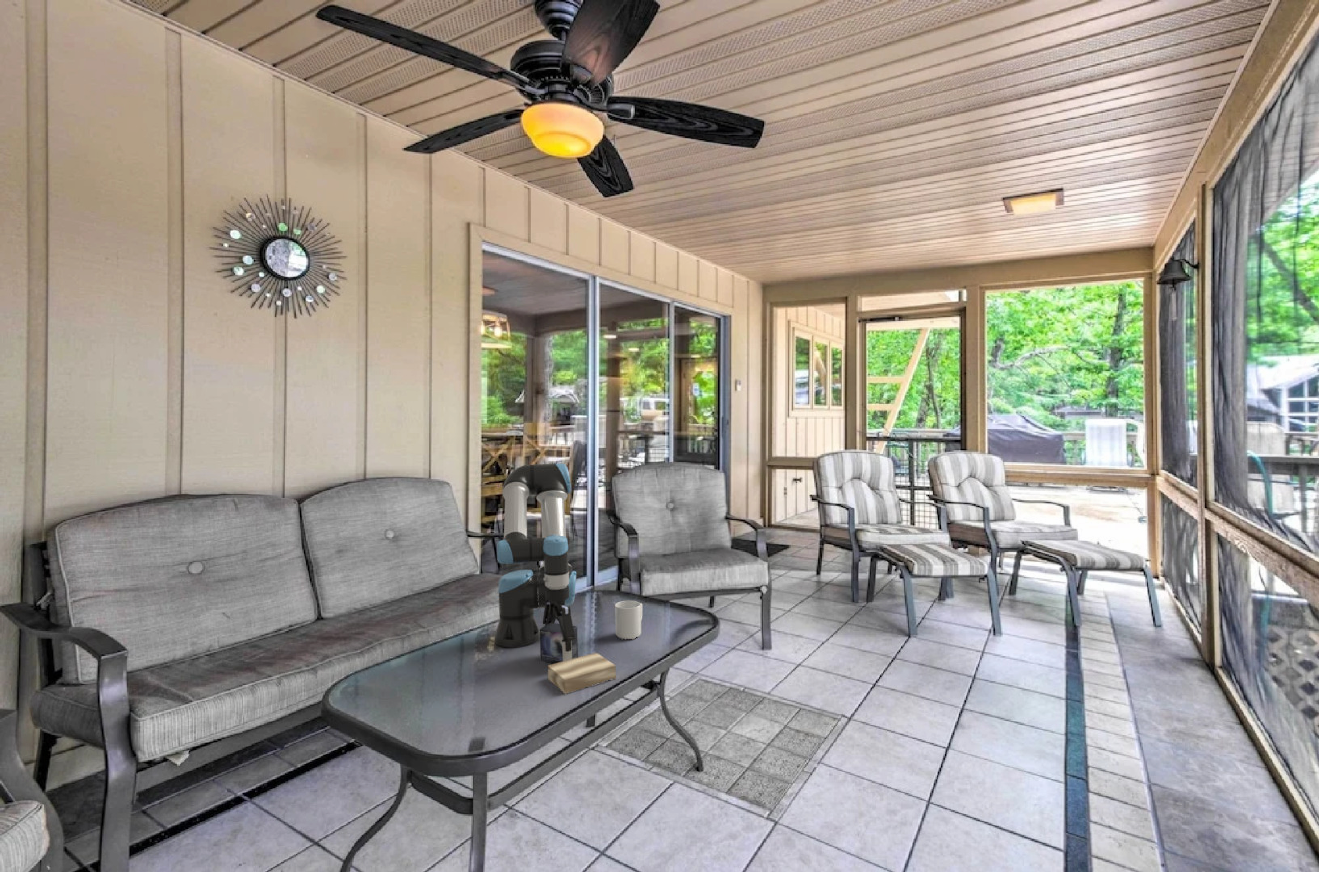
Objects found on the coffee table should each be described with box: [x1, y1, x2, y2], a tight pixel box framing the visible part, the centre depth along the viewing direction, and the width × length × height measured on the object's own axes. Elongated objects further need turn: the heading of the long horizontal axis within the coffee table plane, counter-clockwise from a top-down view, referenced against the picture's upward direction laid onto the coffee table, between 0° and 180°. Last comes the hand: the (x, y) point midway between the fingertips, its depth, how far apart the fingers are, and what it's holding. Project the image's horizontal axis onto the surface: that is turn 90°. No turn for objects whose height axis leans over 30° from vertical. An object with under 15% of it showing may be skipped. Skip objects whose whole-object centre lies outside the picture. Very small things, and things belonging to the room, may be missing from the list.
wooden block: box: [547, 652, 617, 695], centre depth 176 cm, size 12×16×4 cm
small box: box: [539, 622, 579, 664], centre depth 190 cm, size 11×6×10 cm, turn 68°
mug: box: [614, 600, 643, 641], centre depth 211 cm, size 12×9×11 cm
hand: (559, 654), depth 190 cm, fingers closed on small box, 12 cm apart
